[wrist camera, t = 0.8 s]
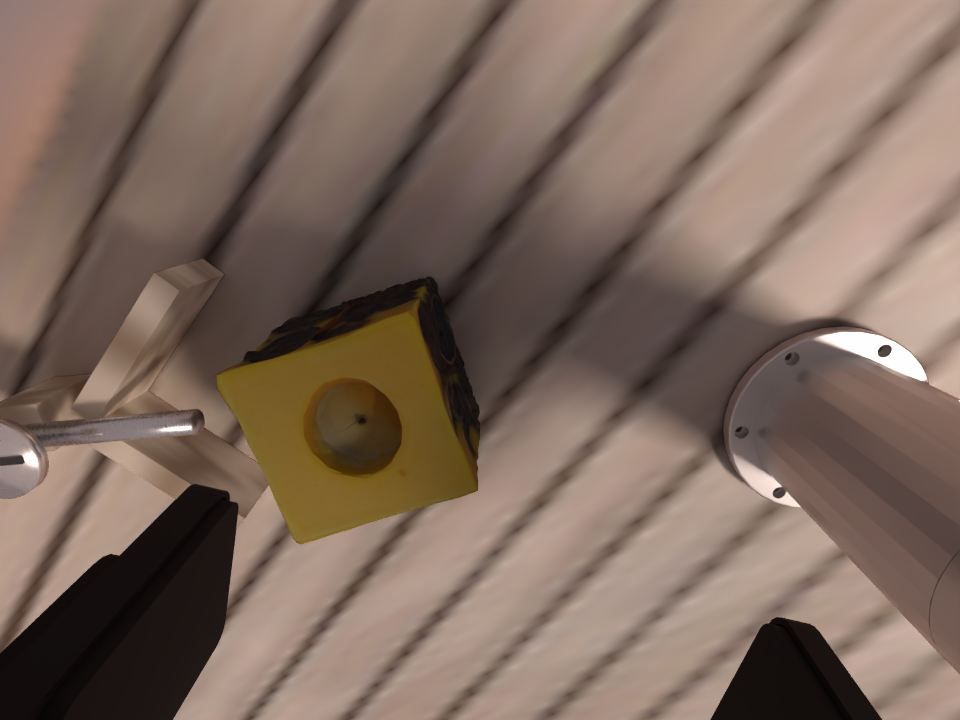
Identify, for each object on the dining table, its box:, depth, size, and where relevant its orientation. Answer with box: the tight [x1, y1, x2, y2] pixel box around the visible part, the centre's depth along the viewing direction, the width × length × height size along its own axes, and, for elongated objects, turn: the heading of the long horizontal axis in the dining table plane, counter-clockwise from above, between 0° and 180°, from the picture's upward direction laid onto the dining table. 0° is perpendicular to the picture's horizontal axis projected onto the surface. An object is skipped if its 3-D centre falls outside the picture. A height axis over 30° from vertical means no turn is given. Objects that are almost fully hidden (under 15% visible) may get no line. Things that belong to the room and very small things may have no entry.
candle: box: [216, 277, 480, 544], centre depth 30 cm, size 10×10×10 cm
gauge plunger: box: [0, 409, 205, 499], centre depth 28 cm, size 11×4×4 cm, turn 96°
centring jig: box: [0, 259, 269, 529], centre depth 33 cm, size 13×16×5 cm
